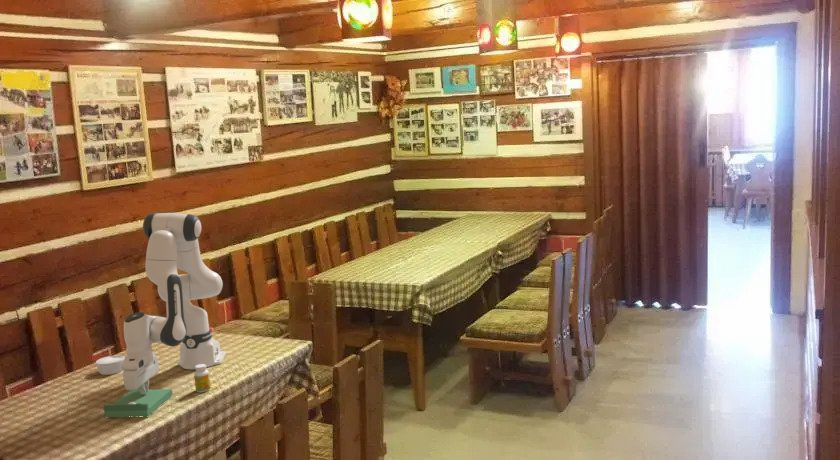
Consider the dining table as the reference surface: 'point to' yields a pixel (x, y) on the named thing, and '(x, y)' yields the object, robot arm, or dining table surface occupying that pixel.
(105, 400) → the dining table surface
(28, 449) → the dining table surface
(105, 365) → the ramekin
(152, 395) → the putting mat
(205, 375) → the supplement bottle
